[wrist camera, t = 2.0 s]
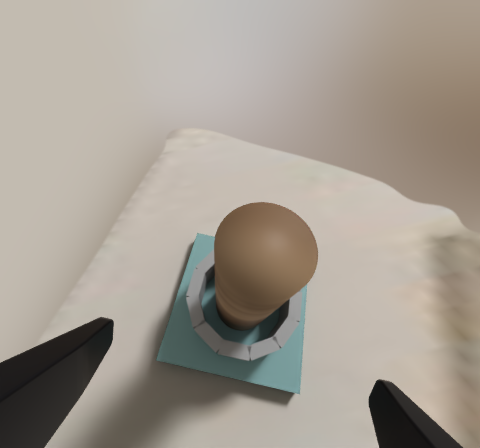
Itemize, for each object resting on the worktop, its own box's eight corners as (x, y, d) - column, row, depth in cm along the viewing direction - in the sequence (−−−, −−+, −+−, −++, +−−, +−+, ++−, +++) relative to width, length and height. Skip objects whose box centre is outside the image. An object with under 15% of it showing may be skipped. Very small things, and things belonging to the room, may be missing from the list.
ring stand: (295, 392, 17) (315, 400, 14) (159, 360, 17) (144, 360, 14) (305, 261, 22) (321, 243, 19) (198, 237, 22) (194, 215, 19)
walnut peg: (262, 336, 18) (315, 310, 8) (210, 323, 18) (201, 285, 8) (270, 283, 20) (320, 213, 10) (222, 272, 20) (227, 193, 10)
